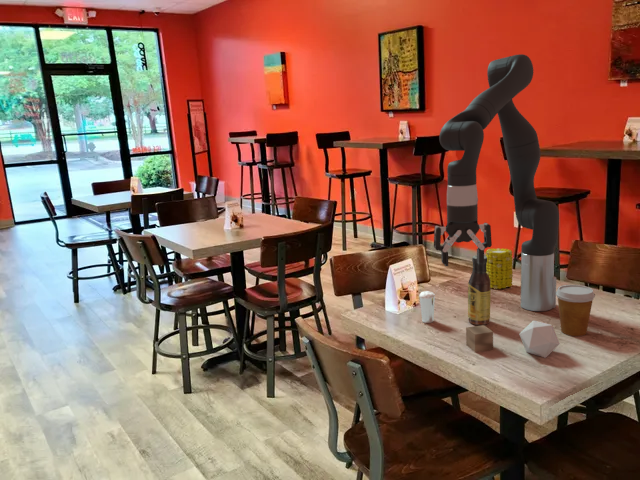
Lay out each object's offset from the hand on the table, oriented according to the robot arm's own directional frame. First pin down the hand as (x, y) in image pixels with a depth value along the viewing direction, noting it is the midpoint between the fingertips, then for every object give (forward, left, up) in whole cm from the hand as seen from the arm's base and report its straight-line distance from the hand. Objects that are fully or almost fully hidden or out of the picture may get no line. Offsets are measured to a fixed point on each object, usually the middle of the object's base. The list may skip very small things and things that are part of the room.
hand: (462, 264), depth 143 cm
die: (-15, +12, -22) cm, 29 cm away
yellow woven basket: (-33, -41, -22) cm, 57 cm away
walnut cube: (-3, +4, -22) cm, 22 cm away
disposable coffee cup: (-31, +3, -22) cm, 38 cm away
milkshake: (+2, -18, -22) cm, 28 cm away
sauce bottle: (-11, -12, -22) cm, 27 cm away
